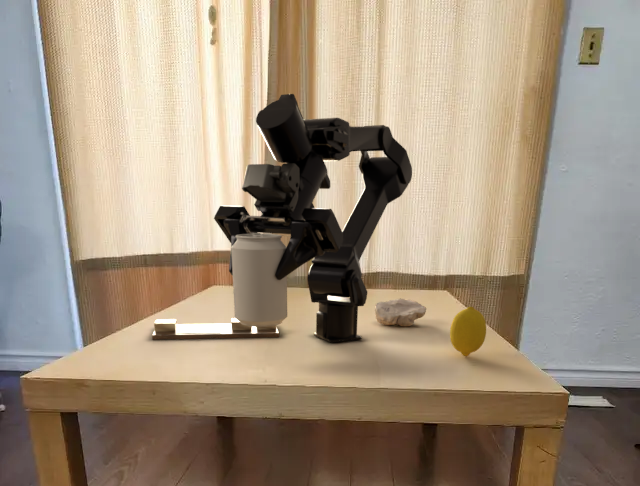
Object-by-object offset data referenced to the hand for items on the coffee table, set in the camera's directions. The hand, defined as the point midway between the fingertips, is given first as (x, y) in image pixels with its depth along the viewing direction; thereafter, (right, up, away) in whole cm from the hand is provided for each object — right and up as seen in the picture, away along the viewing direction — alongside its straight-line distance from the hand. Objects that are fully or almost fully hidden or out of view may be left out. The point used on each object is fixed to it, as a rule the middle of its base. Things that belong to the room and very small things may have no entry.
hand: (253, 275), depth 78 cm
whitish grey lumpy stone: (+25, 0, +38) cm, 45 cm away
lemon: (+32, -10, +14) cm, 37 cm away
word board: (-10, -3, +27) cm, 29 cm away
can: (+1, -6, +4) cm, 7 cm away
